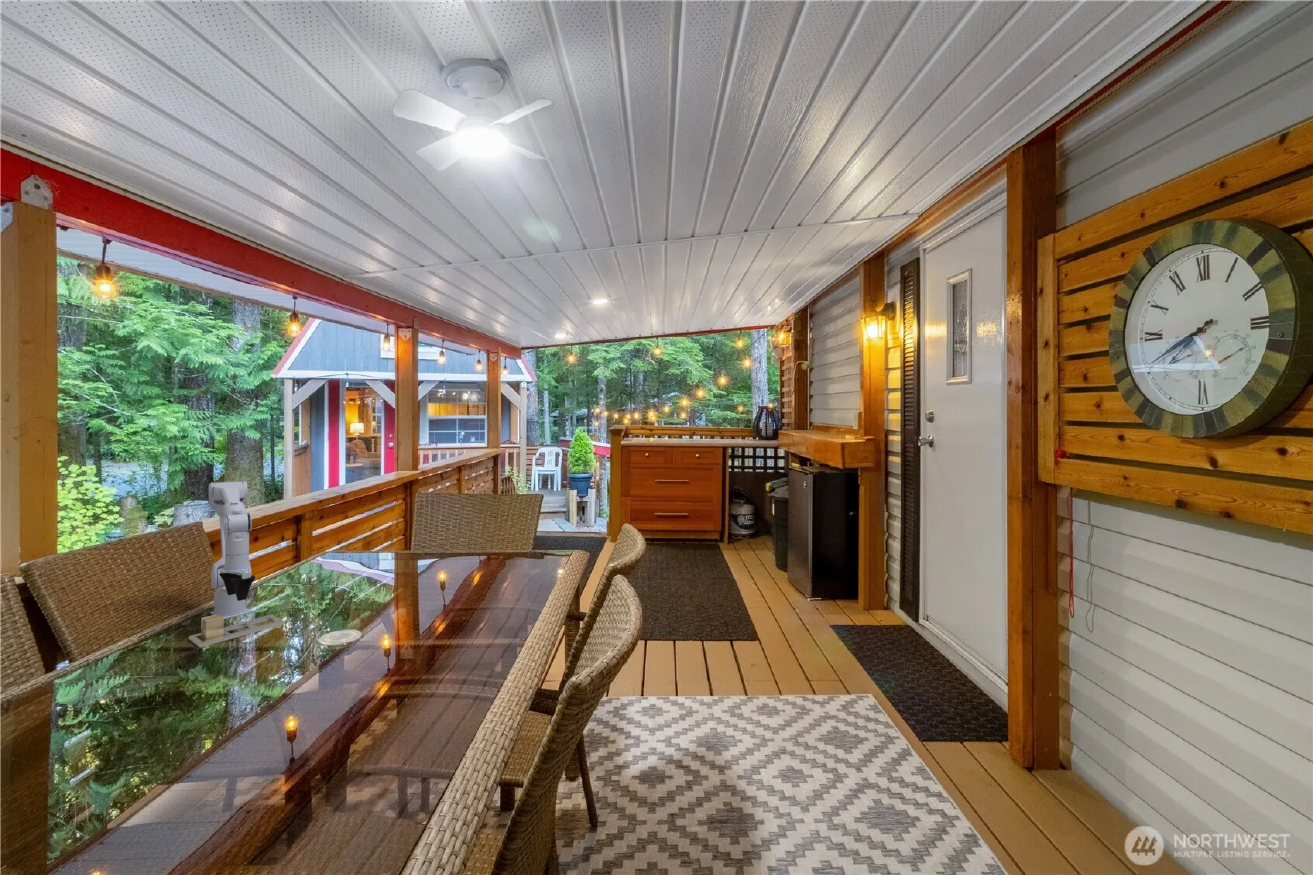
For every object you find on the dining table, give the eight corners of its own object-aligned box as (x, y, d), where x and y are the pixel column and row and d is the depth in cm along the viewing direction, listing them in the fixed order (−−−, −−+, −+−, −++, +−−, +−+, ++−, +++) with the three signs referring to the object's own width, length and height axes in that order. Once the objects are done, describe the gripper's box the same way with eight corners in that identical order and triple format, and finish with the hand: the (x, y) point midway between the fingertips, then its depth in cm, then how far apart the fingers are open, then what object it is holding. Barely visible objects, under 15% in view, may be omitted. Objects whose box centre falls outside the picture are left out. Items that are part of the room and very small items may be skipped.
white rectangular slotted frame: (189, 639, 149) (189, 636, 149) (272, 617, 166) (272, 614, 166) (199, 647, 145) (199, 644, 144) (283, 624, 162) (283, 621, 162)
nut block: (201, 638, 150) (201, 618, 149) (218, 633, 153) (218, 613, 153) (206, 642, 148) (206, 621, 147) (223, 637, 151) (223, 617, 151)
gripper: (211, 551, 158) (211, 595, 159) (230, 560, 150) (230, 606, 151) (240, 547, 164) (239, 589, 165) (259, 555, 156) (258, 599, 157)
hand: (237, 597), depth 158 cm, fingers open, 7 cm apart
